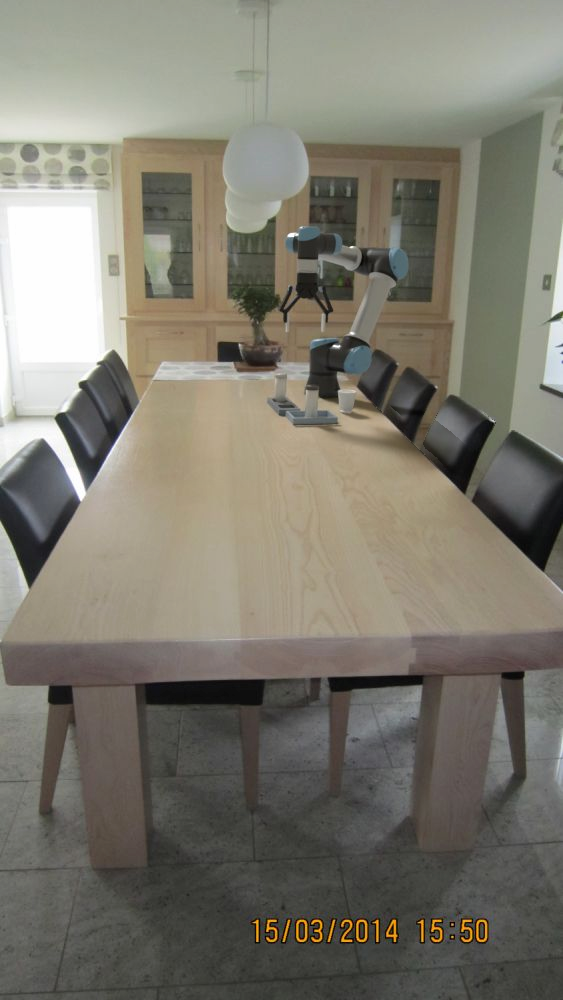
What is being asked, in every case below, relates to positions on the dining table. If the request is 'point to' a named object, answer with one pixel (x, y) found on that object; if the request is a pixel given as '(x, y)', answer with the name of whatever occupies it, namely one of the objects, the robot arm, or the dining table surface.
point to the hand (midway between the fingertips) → (305, 331)
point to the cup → (346, 400)
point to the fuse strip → (282, 406)
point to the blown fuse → (311, 401)
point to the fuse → (280, 387)
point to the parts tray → (311, 418)
